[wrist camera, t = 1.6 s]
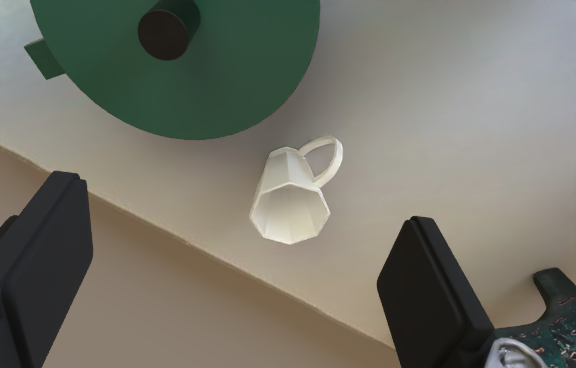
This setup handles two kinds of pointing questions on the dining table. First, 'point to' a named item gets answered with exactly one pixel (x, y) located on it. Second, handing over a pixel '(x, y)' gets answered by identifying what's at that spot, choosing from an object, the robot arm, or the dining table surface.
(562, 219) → the dining table surface
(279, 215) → the cup
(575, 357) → the ceramic cat
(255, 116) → the pot lid
